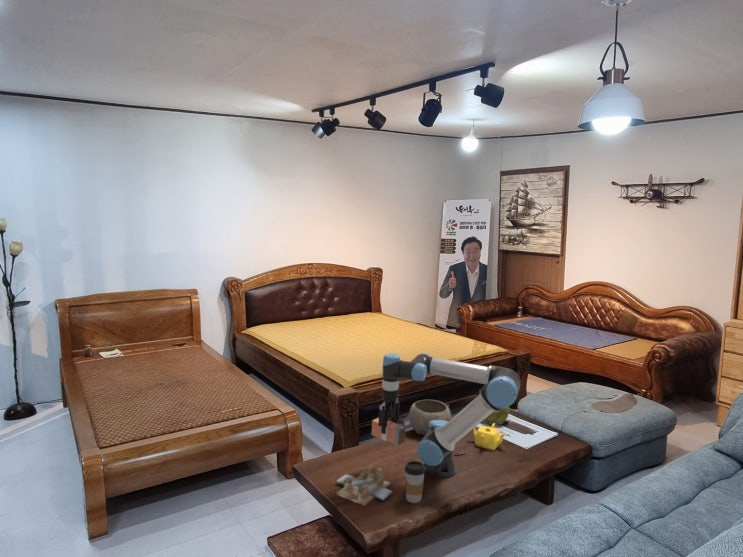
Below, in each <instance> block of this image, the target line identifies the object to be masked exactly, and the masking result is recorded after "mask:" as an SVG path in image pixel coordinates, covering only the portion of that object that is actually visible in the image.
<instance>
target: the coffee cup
mask: <svg viewBox="0 0 743 557" xmlns="http://www.w3.org/2000/svg"><path fill="white" fill-rule="evenodd" d="M423 464H424V463H423V462H422V461H418V460H417V461H416V460H412V461H411V460H410V461H408V462H406V464H405V466H404V472H405V473H404V475H405V479H404V480H405V481H404V482H405V498H406V501H407V502H409V503H412V504H417V503H420V502H421V501H422V496H423V491H424V489H423V488H424V481H425V480H424V479H425V478H424V477H425V473H426V472H425V467H424V465H423Z"/></svg>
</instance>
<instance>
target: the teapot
mask: <svg viewBox="0 0 743 557" xmlns="http://www.w3.org/2000/svg"><path fill="white" fill-rule="evenodd" d="M495 426H496V425H495V423H493V424H491V427H490V426H485V425H482V426H480V427H479V428H478V429H476V427H474V428H473V429H472V432H473V437H474V445H475V446H476V447H479V448H481V447H482V449H485V450H489V449H490V451H495V450H496V449H497V448H498V447H499V446H500V444H502V442H503V440H504V437H505V436H506V435H507V433H505V432H503V433H500V430H499V429H497V428H495Z"/></svg>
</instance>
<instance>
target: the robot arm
mask: <svg viewBox="0 0 743 557" xmlns="http://www.w3.org/2000/svg"><path fill="white" fill-rule="evenodd" d="M428 374H432V375H437V376H442V377H445V378H446V377H447V378H452V379H456V380H463V381H467V382H473V383H477V384H482V385H483V387H481V388H480V389H479V395H478V396H477V397H475V398H474V399H473V400H472V401H471V402H470V403H468V404H467V405H466V406H465V407H464V408H462V409H461V410H460V411H459V412H458V413H457V414H456V415H455V416H453V417H451V420H450V421H449V422H448V421H444V420H432V421H430V422H429V431H428V433H427V434H426V435H424V436H423V437H422V439H421V440H420V441H419V442H418V445H417V448H416V449H417V451H416V452H417V456H418V458H419V460H420V462H421V463H422V464H423V465H424V467H425V473H426V475H427V474H428V475H430V476H432V477H435V478H443V479H444V478H450V477H452V476H454V475H455V474H456V472H457V464H456V460H455V458H454V450H455V448H456V444H457V443H458V442H459V441H460V440H461V439H462V438H463V437H465V436H466V435H467V434H469V433H470V432H471V431H473V428H474V427H475V428H476V427H477V426H478V425H480V423H482V422H483V421H484V419H485V418H486V417H488V416H489V415H490V414H491V413H492V412H500V411H501V410H502V409H503V408H505V407H508V406H509V407H510V406H512V405H513V404H514V403H515V402H516V400H517V398H518V394H519V391H520V389H521V385H522V383H521V382H522V381H521V378H520V376H519V374H518V373H517V372H516V371H515V370H513V369H512V368H507V367H503V366H498V365H489V366H484V365H479V364H473V363H468V362H462V361H456V360H451V359H450V360H449V359H444V358H439V357H438V358H437V357H433V356H430V355H429V354H428V353H426V352H422V353H419V354H417V355H416V356H415V357H414V358H413V359H412V360H411V361H408V360H407V361H406V360H402V359H401V356H400V355H399V354H396V353H386V354H384V356H383V359H382V377H381V378H382V381H381V382H382V384H381V388H382V389H381V397H382V399H383V400H382V403H381V404H379V405H378V406H377V407H378V418H379V423H378V425H379V426H381V427H382V431H381V433H382V439H381V440H382V441H385V442H388V441H387V436H388V427H387V422H388V421H389V416H390V422H393V423H396V424H398V422H399V419H400V404H401V398H399V393H400V392H399V391H400V390H399V388H400V379H404V380H405V379H407V380H412V381H415V382H423V381H425V380H426V377H427V375H428Z"/></svg>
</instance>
